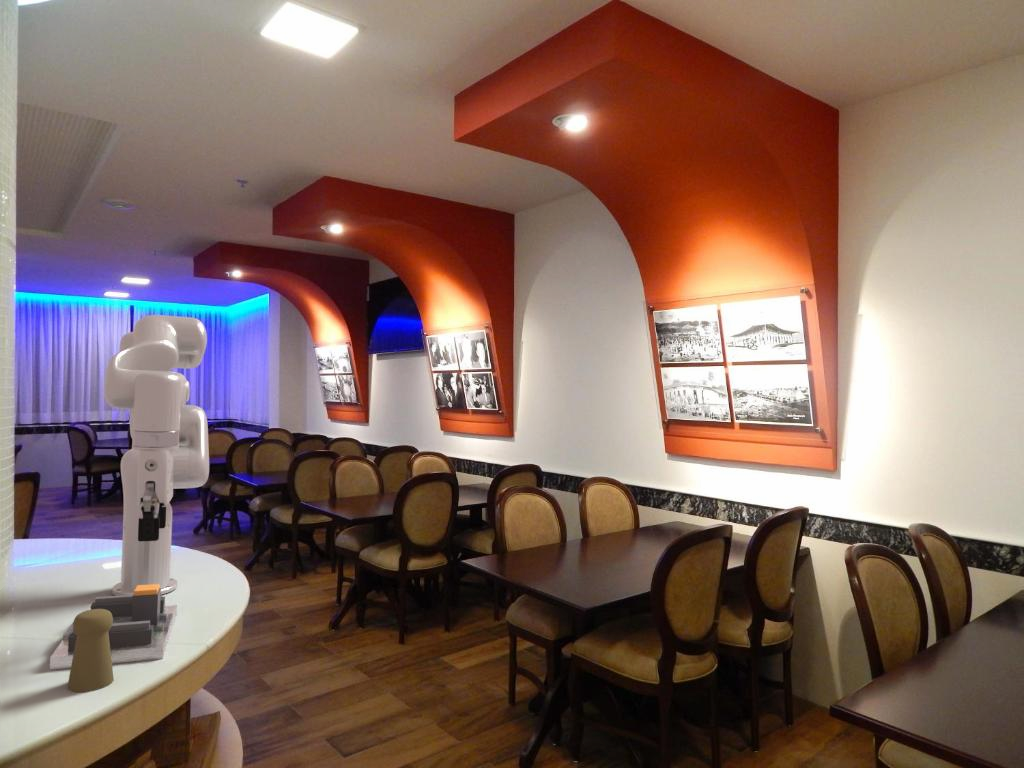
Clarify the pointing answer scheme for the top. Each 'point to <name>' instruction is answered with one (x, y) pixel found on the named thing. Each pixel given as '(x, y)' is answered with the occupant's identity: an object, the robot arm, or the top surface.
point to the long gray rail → (122, 631)
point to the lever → (146, 603)
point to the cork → (91, 652)
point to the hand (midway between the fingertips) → (152, 534)
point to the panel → (125, 653)
